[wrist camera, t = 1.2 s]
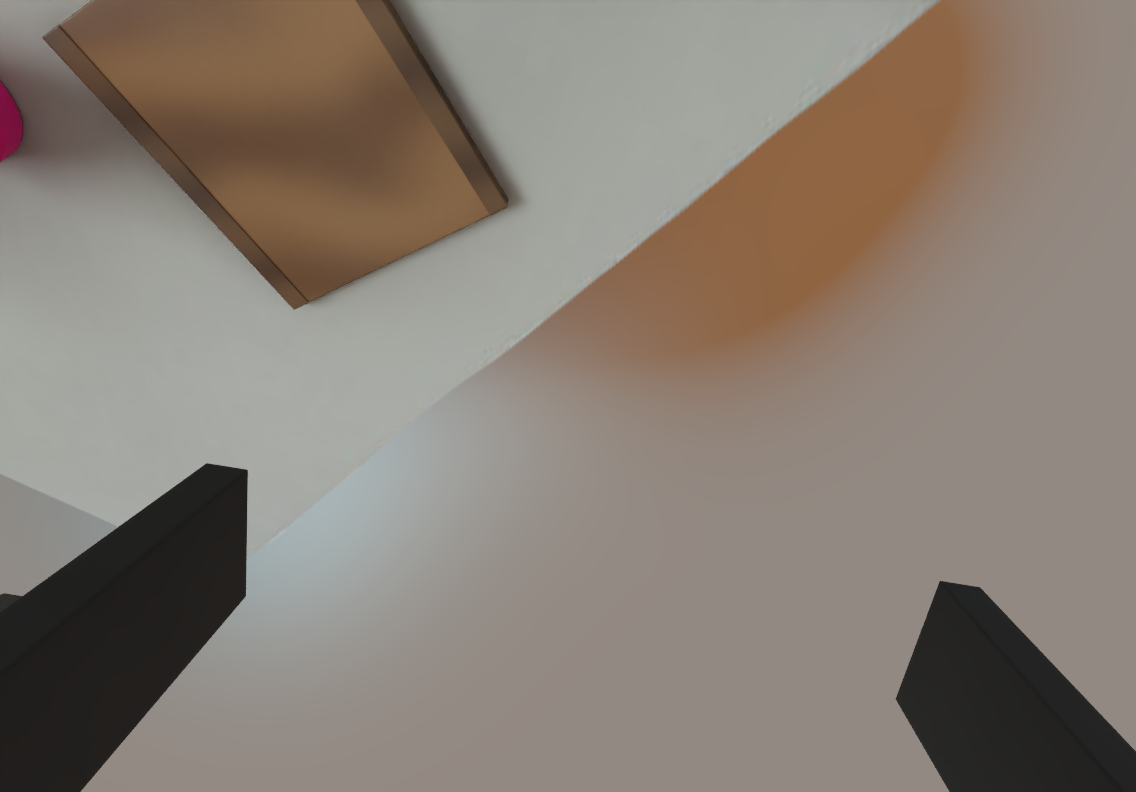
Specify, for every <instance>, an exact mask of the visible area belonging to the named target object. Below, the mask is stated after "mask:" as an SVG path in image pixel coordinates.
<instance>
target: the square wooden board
mask: <svg viewBox="0 0 1136 792" xmlns="http://www.w3.org/2000/svg"><path fill="white" fill-rule="evenodd" d="M42 38H43V39H44V40H45V41H46V42H47V43H48V45H49V46H50V47H51V48H52V49H53V50H54V51H55V52H56V53H57V54H58V55H59V56H60V58H61V59H62V60H63V61H64V62H65V63H66V64H67V65H68V66H69V67H70V68H71V69H72V70H73V72H74V73H75V74H76V75H77V76H78V77H79V78H80V79H81V80H82V81H83V82H84V83H85V85H86V86H87V87H88V88H89V89H90V90H91V91H92V92H93V93H94V94H95V95H96V96H97V97H98V99H99V100H100V101H101V102H102V103H103V104H104V105H105V106H106V107H107V108H108V109H109V110H110V112H111V113H112V114H113V115H114V116H115V117H116V118H117V119H118V120H119V121H120V122H121V123H122V124H123V126H124V127H125V128H126V129H127V130H128V131H129V132H130V133H131V134H132V135H133V136H134V137H135V139H136V140H137V141H138V142H139V143H140V144H141V145H142V146H143V147H144V148H145V149H146V150H147V151H148V153H149V154H150V155H151V156H152V157H153V158H154V159H155V160H156V161H157V162H158V163H159V164H160V165H161V167H162V168H163V169H164V170H165V171H166V172H167V173H168V174H169V175H170V176H171V177H172V178H173V180H174V181H175V182H176V183H177V184H178V185H179V186H180V187H181V188H182V189H183V190H184V191H185V192H186V194H187V195H188V196H189V197H190V198H191V199H192V200H193V201H194V202H195V203H196V204H197V205H198V207H199V208H200V209H201V210H202V211H203V212H204V213H205V214H206V215H207V216H208V217H209V218H210V219H211V221H212V222H213V223H214V224H215V225H216V226H217V227H218V228H219V229H220V230H221V231H222V232H223V234H224V235H225V236H226V237H227V238H228V239H229V240H230V241H231V242H232V243H233V244H234V245H235V246H236V248H237V249H238V250H239V251H240V252H241V253H242V254H243V255H244V256H245V257H246V258H247V259H248V261H249V262H250V263H251V264H252V265H253V266H254V267H255V268H256V269H257V270H258V271H259V272H260V273H261V275H262V276H263V277H264V278H265V279H266V280H267V281H268V282H269V283H270V284H271V285H272V286H273V287H274V289H275V290H276V291H277V292H278V293H279V294H280V295H281V296H282V297H283V298H284V299H285V300H286V302H287V303H288V304H289V305H290V306H291V307H292V308H293V309H297V308H299V307H301V306H303V305H305V304H307V303H308V302H310V301H312V300H314V299H316V298H318V297H320V296H322V295H324V294H326V293H328V292H330V291H332V290H334V289H337V288H339V287H341V286H343V285H345V284H347V283H349V282H351V281H353V280H355V279H357V278H359V277H361V276H364V275H366V274H368V273H370V272H372V271H374V270H376V269H378V268H380V267H382V266H384V265H386V264H389V263H391V262H393V261H395V260H397V259H399V258H401V257H403V256H405V255H407V254H409V253H411V252H413V251H416V250H418V249H420V248H422V247H424V246H426V245H428V244H430V243H432V242H434V241H436V240H438V239H440V238H443V237H445V236H447V235H449V234H451V233H453V232H455V231H457V230H459V229H461V228H463V227H465V226H467V225H470V224H472V223H474V222H476V221H478V220H480V219H482V218H484V217H486V216H488V215H492V214H494V213H496V212H498V211H500V210H502V209H504V208H506V207H507V206H508V198H507V197H506V195H505V193H504V192H503V190H502V188H501V187H500V185H499V183H498V182H497V180H496V178H495V177H494V175H493V173H492V172H491V170H490V168H489V167H488V165H487V163H486V162H485V160H484V158H483V157H482V155H481V153H480V152H479V150H478V148H477V147H476V145H475V143H474V142H473V140H472V138H471V137H470V135H469V133H468V132H467V130H466V128H465V126H464V125H463V123H462V121H461V120H460V118H459V116H458V115H457V113H456V111H455V110H454V108H453V106H452V105H451V103H450V101H449V100H448V98H447V96H446V95H445V93H444V91H443V90H442V88H441V86H440V85H439V83H438V81H437V80H436V78H435V76H434V75H433V73H432V71H431V70H430V68H429V66H428V65H427V63H426V61H425V60H424V58H423V56H422V55H421V53H420V51H419V49H418V48H417V46H416V44H415V43H414V41H413V39H412V38H411V36H410V34H409V33H408V31H407V29H406V28H405V26H404V24H403V23H402V21H401V19H400V18H399V16H398V14H397V13H396V11H395V9H394V8H393V6H392V4H391V3H390V1H389V0H92V1H90V2H89V3H88V4H86V5H85V6H84V7H82V8H81V9H80V10H78V11H77V12H76V13H74V14H73V15H72V16H70V17H69V18H68V19H66V20H65V21H63V22H62V23H61V24H59V25H58V26H56V27H55V28H54V29H52V30H51V31H50V32H48V33H47V34H46V35H44V36H43V37H42Z"/></svg>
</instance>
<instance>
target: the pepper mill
mask: <svg viewBox="0 0 1136 792" xmlns="http://www.w3.org/2000/svg"><path fill="white" fill-rule="evenodd" d="M22 134H23V125H22V121H21V117H20V114H19V110H18V108H17V106H16V104H15V102H14V100H13V98H12V97H11V95H10V94H9V93H8V91H7V90H6V88H5V87H4V86H3V84H2V83H1V82H0V162H1V161H2V160H4V159H5V158H7V157H9V156H10V155H12V154H13V153H14V152H15V151H16V150H17V148H18V147H19V145H20V142H21V140H22Z"/></svg>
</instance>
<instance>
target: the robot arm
mask: <svg viewBox="0 0 1136 792" xmlns="http://www.w3.org/2000/svg"><path fill="white" fill-rule="evenodd" d="M247 478H248V470H245V469H239V468H232V467H226V466H220V465H214V464H205V465H204V466H202V467H201V468H200V469H198V470H197V471H196V472H194V473H193V474H191V475H190V476H189V477H187V478H186V479H184V480H183V481H182V482H180V483H179V484H178V485H176V486H175V487H173V488H172V489H171V490H169V491H168V492H166V493H165V494H164V495H162V496H161V497H160V498H158V499H157V500H155V501H154V502H153V503H151V504H150V505H148V506H147V507H146V508H144V509H143V510H142V511H140V512H139V513H137V514H136V515H135V516H133V517H132V518H130V519H129V520H128V521H126V522H125V523H124V524H122V525H121V526H119V527H118V528H117V529H115V530H114V531H113V532H111V533H110V534H108V535H107V536H106V537H104V538H103V539H101V540H100V541H99V542H97V543H96V544H94V545H93V546H92V547H90V548H89V549H88V550H86V551H85V552H84V553H82V554H81V555H79V556H78V557H77V558H75V559H74V560H72V561H71V562H70V563H68V564H67V565H65V566H64V567H63V568H61V569H60V570H59V571H57V572H56V573H54V574H53V575H52V576H51V577H49V578H48V579H46V580H45V581H43V582H42V583H40V584H39V585H38V586H36V587H35V588H34V589H32V590H31V591H30V592H28V593H27V594H25V595H24V596H16V595H11V594H1V595H0V792H81V790H82V789H83V788H84V786H86V784H87V783H88V782H89V781H90V780H91V779H92V777H93V776H94V775H95V774H96V773H97V771H98V770H99V769H100V768H101V767H102V765H103V764H104V763H105V762H106V761H107V760H108V758H109V757H110V756H111V755H112V753H114V751H115V750H116V749H117V748H118V747H119V745H120V744H121V743H122V742H123V741H124V740H125V738H126V737H127V736H128V735H129V734H130V732H131V731H132V730H133V729H134V728H135V727H136V725H137V724H138V723H139V722H140V721H141V719H142V718H143V717H144V716H145V715H146V713H147V712H148V711H149V710H150V709H151V707H152V706H153V705H154V704H155V703H156V702H157V700H158V699H159V698H160V697H161V696H162V694H163V693H164V692H165V691H166V690H167V688H168V687H169V686H170V685H171V684H172V683H173V682H174V680H175V679H176V678H177V677H178V676H179V674H180V673H181V672H182V671H183V670H184V669H185V667H186V666H187V665H188V664H189V663H190V661H191V660H192V659H193V658H194V657H195V655H196V654H197V653H198V652H199V651H200V650H201V648H202V647H203V646H204V645H205V644H206V643H207V641H208V640H209V639H210V638H211V637H212V635H213V634H214V633H215V632H216V631H217V630H218V628H219V627H220V626H221V625H222V623H223V622H224V621H225V620H226V619H227V618H228V617H229V615H230V614H231V613H232V612H233V610H234V609H235V608H236V607H237V606H238V605H239V604H240V602H241V601H242V600H243V599H244V598H245V596H246V546H247ZM896 700H897V702H898V704H899V705H900V707H901V709H902V711H903V712H904V714H905V716H906V718H907V719H908V721H909V723H910V725H911V726H912V728H913V730H914V731H915V733H916V735H917V736H918V738H919V740H920V742H921V743H922V745H923V747H924V749H925V750H926V752H927V754H928V755H929V757H930V759H931V761H932V762H933V764H934V766H935V768H936V769H937V771H938V773H939V774H940V776H941V778H942V780H943V781H944V783H945V784H946V786H947V788H948V790H949V792H1136V751H1135V750H1134V749H1133V748H1132V747H1131V746H1130V745H1129V744H1128V743H1127V742H1126V741H1125V740H1124V739H1123V738H1122V736H1121V735H1120V734H1119V733H1118V732H1117V731H1116V730H1115V729H1114V728H1113V727H1112V726H1111V725H1110V724H1109V723H1108V722H1107V721H1106V720H1105V719H1104V718H1103V716H1102V715H1101V714H1099V712H1098V711H1097V710H1096V709H1095V708H1094V707H1093V706H1092V705H1091V704H1090V703H1089V702H1088V701H1087V700H1086V699H1085V698H1084V696H1083V695H1082V694H1081V693H1080V692H1079V691H1078V690H1077V689H1076V688H1075V687H1074V686H1073V685H1072V684H1071V683H1070V682H1069V681H1068V680H1067V679H1066V678H1065V677H1064V675H1063V674H1062V673H1061V672H1060V671H1059V670H1058V669H1057V668H1056V667H1055V666H1054V665H1053V664H1052V663H1051V662H1050V661H1049V660H1048V659H1047V658H1046V656H1044V654H1043V653H1042V652H1041V651H1040V650H1039V649H1038V648H1037V647H1036V646H1035V645H1034V644H1033V643H1032V642H1031V641H1030V640H1029V639H1028V638H1027V637H1026V635H1024V633H1023V632H1022V631H1021V630H1020V629H1019V628H1018V627H1017V626H1016V625H1015V624H1014V623H1013V622H1012V621H1011V620H1010V619H1009V618H1008V616H1007V615H1006V614H1005V613H1004V612H1003V611H1002V610H1001V609H1000V608H999V607H998V606H997V605H996V604H995V603H994V602H993V601H992V600H991V599H990V598H989V596H988V595H987V594H986V593H985V592H984V591H983V590H982V589H981V588H980V587H974V586H968V585H962V584H956V583H949V582H943V581H940V582H939V585H938V588H937V590H936V593H935V596H934V598H933V601H932V604H931V607H930V609H929V612H928V614H927V617H926V620H925V622H924V625H923V628H922V630H921V633H920V636H919V638H918V641H917V644H916V646H915V649H914V652H913V655H912V657H911V660H910V662H909V665H908V668H907V671H906V673H905V676H904V678H903V681H902V684H901V687H900V689H899V692H898V695H897V697H896Z"/></svg>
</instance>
